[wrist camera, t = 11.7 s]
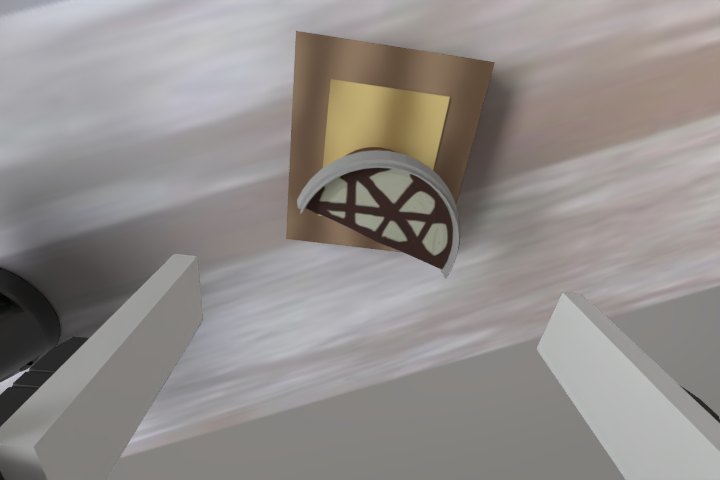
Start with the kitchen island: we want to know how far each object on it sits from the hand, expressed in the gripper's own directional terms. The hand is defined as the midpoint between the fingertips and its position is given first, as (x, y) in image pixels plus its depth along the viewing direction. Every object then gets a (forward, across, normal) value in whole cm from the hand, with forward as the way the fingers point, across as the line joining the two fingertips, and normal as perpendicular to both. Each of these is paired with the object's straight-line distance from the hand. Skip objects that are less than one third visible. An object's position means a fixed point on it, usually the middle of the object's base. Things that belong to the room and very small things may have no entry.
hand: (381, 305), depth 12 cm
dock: (+25, +1, +1) cm, 25 cm away
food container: (+21, +2, 0) cm, 21 cm away
